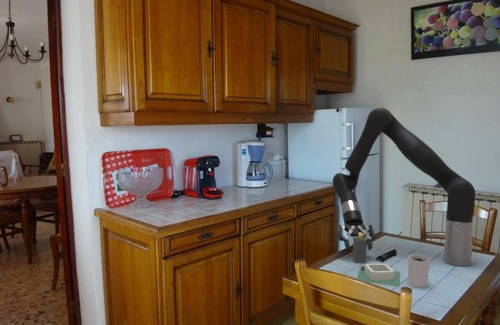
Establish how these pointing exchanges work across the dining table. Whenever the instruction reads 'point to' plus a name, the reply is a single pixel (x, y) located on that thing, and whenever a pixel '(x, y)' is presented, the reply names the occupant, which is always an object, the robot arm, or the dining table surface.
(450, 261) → the robot arm
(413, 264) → the grey cup
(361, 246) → the plug
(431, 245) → the dining table surface
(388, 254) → the electric trimmer
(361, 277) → the circuit board
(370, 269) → the socket
